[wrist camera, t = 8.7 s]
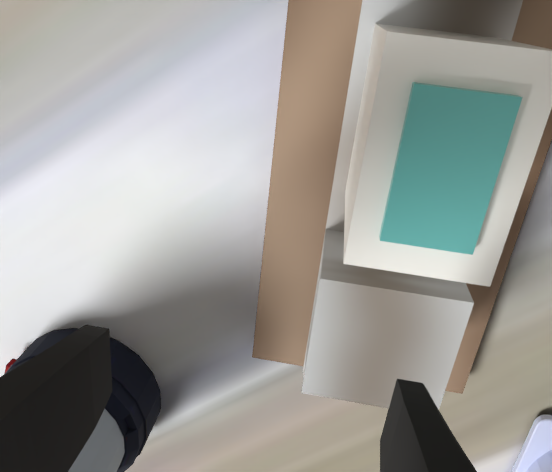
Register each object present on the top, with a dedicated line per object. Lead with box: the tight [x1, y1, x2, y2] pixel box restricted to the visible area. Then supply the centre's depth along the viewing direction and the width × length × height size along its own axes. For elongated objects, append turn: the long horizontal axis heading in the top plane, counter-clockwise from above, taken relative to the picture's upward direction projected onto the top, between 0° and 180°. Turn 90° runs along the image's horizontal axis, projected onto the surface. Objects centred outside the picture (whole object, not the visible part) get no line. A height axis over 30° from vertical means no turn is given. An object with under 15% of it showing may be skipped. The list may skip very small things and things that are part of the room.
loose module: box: [343, 23, 552, 287], centre depth 15 cm, size 4×6×6 cm, turn 174°
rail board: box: [252, 0, 552, 410], centre depth 17 cm, size 10×24×6 cm, turn 174°
